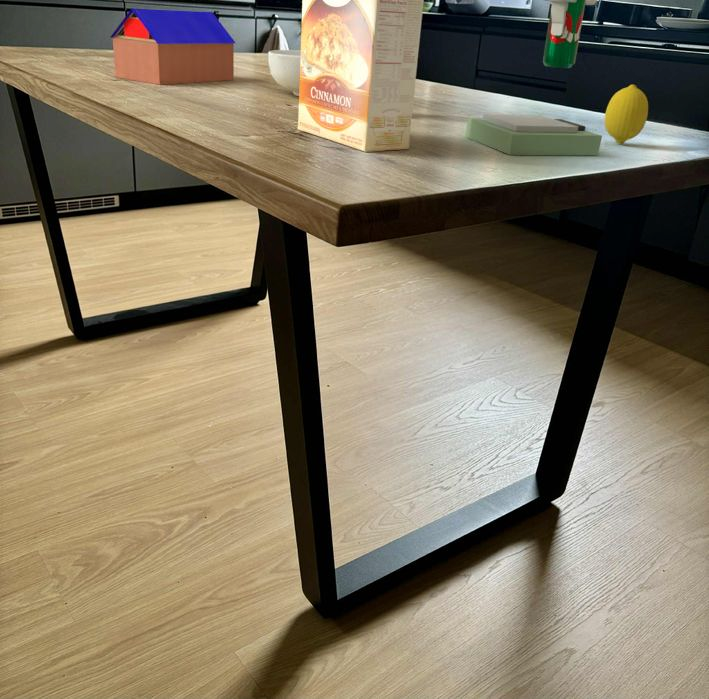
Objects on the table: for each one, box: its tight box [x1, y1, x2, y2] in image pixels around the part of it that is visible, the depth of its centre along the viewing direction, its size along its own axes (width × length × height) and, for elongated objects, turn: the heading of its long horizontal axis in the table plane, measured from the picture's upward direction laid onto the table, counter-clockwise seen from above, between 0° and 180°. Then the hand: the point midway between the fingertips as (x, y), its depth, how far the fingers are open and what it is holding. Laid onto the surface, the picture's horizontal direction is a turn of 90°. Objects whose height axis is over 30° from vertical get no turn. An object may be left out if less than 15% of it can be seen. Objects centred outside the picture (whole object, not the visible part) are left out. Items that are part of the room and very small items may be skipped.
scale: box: [465, 113, 603, 156], centre depth 94 cm, size 13×12×3 cm
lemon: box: [604, 84, 649, 145], centre depth 100 cm, size 6×6×8 cm
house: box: [110, 8, 236, 86], centre depth 133 cm, size 12×20×12 cm, turn 147°
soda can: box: [542, 0, 586, 69], centre depth 113 cm, size 5×5×12 cm
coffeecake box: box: [297, 0, 425, 153], centre depth 85 cm, size 15×7×20 cm, turn 36°
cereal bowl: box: [267, 49, 301, 97], centre depth 125 cm, size 17×17×7 cm
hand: (563, 35), depth 114 cm, fingers closed on soda can, 5 cm apart
